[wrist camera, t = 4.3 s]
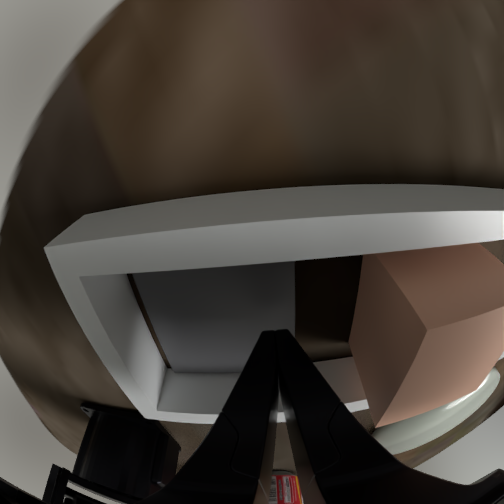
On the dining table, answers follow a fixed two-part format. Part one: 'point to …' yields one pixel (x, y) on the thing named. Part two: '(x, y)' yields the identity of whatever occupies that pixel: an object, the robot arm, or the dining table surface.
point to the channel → (237, 277)
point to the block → (426, 327)
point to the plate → (434, 419)
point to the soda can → (285, 488)
